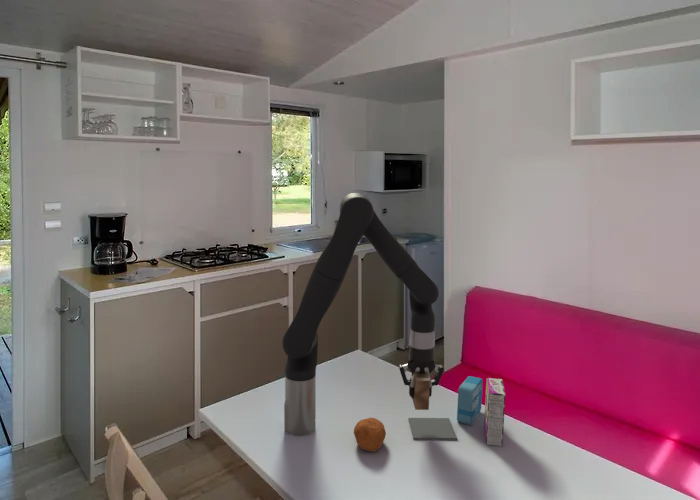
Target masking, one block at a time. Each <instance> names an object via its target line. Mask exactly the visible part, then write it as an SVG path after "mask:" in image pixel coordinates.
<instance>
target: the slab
mask: <svg viewBox="0 0 700 500" xmlns="http://www.w3.org/2000/svg"><path fill="white" fill-rule="evenodd" d="M430 378H431V375H430V376H429V374H425V373H418V374H415V384H414V398H411V399H412V403H413V406H414V410H415V411H421V410H424V411H429V410H430V409H429V407H430V397H429V390H430Z"/></svg>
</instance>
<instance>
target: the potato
mask: <svg viewBox="0 0 700 500" xmlns="http://www.w3.org/2000/svg"><path fill="white" fill-rule="evenodd" d="M386 434H387V432H386V428H385V426H384V424H383V422H382V421H381V420H379V419H377V418H375V417H367V418H364V419H360V420H359V421H358V422H357V423H356V424H355V426H354V428H353V436H354V438H355V442H356V443H357V445H358V446H359V447H360V449H362V450H364V451H367V452H376V451H377V450H378V449H379V448H381V447H382V445H383V444H384V441H385V438H386Z"/></svg>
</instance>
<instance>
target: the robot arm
mask: <svg viewBox="0 0 700 500" xmlns="http://www.w3.org/2000/svg"><path fill="white" fill-rule="evenodd" d="M363 236H364V237H365V238H366V239H367V240H368V242H369V243H370V244H371V246H372V247H373V248H374V250H375V251H376V253H378V255H379V256H380V259H382V261H383V262H384V263H385V265H386V266H387V267H388V269H389V270H390V271H391V272H392V273H393V275H394V276H395V277H396V278H397V279H398V280H399V281H400V282H402V283H403V284H404V285H405V286H406V288H407V289H408V291H409V293H408V295H409V304H410V311H411V314H410V315H411V316H410V317H411V318H410V331H409V338H408V339H409V340H408V343H409V344H408V347H409V349H408V351H409V352H408V361H407V363H405V364H402V363H401V364H398V369H399V371H400V375H401V378H402V381H403V384H404V386H408V394H409V397H411V399H412V398H414V384H415V374H418V373H425V374H429V376H430V390H429V398H431V396H432V390H433V387H434V386H435V387H436V386H438V385H439V383H440V380H441V378H442V375H443V373H444V370H445V369H444V367H443V365H442V364H436V362H435V349H436V348H435V344H436V334H435V324H436V322H435V321H436V320H435V319H436V316H435V312H434V310H433V308H432V305H433V304H434V303H435V302H436V301H438V299H439V288H438V286H437V285H436V283H435V281H433V280H432V279H431V278H430V277H429V275H427V273H426V272H424V270H422V268H420V266H419V264H417V262H416V261H415V259H414V258H413V257H412V256H411V255H410V254H409V253H410V252H408V250H406V248H405V247H404V246H403V245H402V244H401V243H400V242H399V241H398V240H397V239H396V238H395V237H394V236H393V234H391V232H390V231H389V230H388V229H387V227H385V224H383V223H382V221H381V220H380V218H379V217H378V215H377V213H376V212H375V210H374V206H373V203H372V202H371V201H370V199H369V198H368V197H367V196H366V195H364V194H362V193H359V192H352V193H348V194H347V195H346V196H344V197H343V198H342V200H341V202H340V205H339V217H338V219H337V223H336V227H335V229H334V231H333V234H332V237H331V239H330V241H329V242H328V244H327V246H326V247H325V248H324V249H323V251H322V252H321V254H320V256H319V257H318V258H317V261H316V262H315V265H314V267H313V270H312V272H311V274H310V276H309V279H308V281H307V284H306V287H305V289H304V293H303V295H302V297H301V301H300V304H299V307H298V310H297V312H296V314H295V316H294V318H293V320H292V321H291V323H290V325H289V327H287V330H286V331H285V333H284V334H283V337H282V342H281V343H282V344H281V345H282V349H283V352H284V353H285V355H286V356H287V359H286V363H285V369H284V381H285V382H284V386H285V387H284V393H285V394H284V396H285V397H284V399H285V400H284V403H283V404H284V406H283V407H284V409H283V415H284V416H283V417H284V418H283V419H284V423H283V425H284V426H283V427H284V429H283V430H284V431H283V432H284V433H285V434H289V435H292V436H306V435H310V434H312V433H313V432H315V431H316V422H317V420H316V418H317V417H316V416H317V415H316V405H317V404H316V399H317V398H316V396H317V395H316V391H317V390H316V387H317V384H316V379H317V377H316V376H317V375H316V374H317V365H318V352H319V351H318V349H319V345H318V344H319V338H318V329H319V326H320V324H321V322H322V319H323V318H324V316H325V315H326V314H327V312H328V310H329V309H330V308H331V305H332V304H333V302H334V300H336V299H335V298H336V297H337V295H338V293H339V292H340V289H341V286H342V285H343V282H344V280H345V278H346V276H347V273H348V270H349V268H350V265H351V262H352V260H353V257H354V254H355V251H356V249H357V247H358V244H359V243H360V241H361V239H362V237H363ZM408 370H409V371H410V372H411V373H410V378H409V379H408V377H407V374H406V372H407V371H408ZM434 370H435V374H434V376H433V379H431V373H432V372H433V371H434Z"/></svg>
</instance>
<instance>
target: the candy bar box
mask: <svg viewBox="0 0 700 500" xmlns="http://www.w3.org/2000/svg"><path fill="white" fill-rule="evenodd" d="M484 400H485V401H484V423H483V427H484V428H483V429H484V436H485V445H486V446H490V447H491V446H492V447H499V448H500V447H501V448H502V447H503V440H504V426H505V412H506V411H505V410H506V409H505V408H506V391H505V385H504V381H503V379H502V378H494V377H493V378H492V377H487V378H486V383H485V399H484Z"/></svg>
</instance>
